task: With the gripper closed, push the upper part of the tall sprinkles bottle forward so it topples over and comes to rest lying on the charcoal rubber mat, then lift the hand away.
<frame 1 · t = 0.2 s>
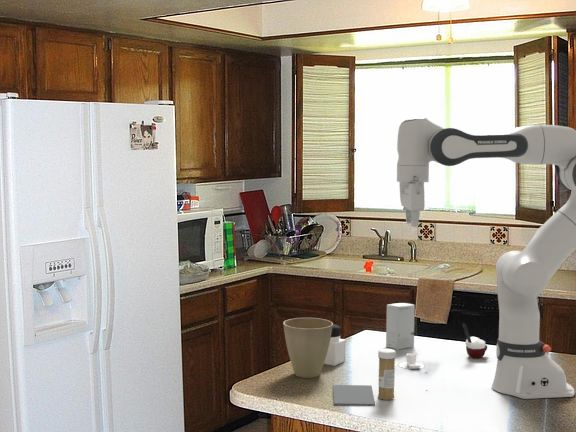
hand: (412, 224, 236), 47 cm above the counter, fingers open, 8 cm apart
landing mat: (353, 395, 233), on the counter
skincare box: (400, 347, 289), on the counter
sprinkles bottle: (386, 398, 231), on the counter
plant pot: (307, 375, 254), on the counter
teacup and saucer: (404, 369, 263), on the counter
medicine bottle: (330, 362, 269), on the counter
cocoa: (474, 358, 275), on the counter
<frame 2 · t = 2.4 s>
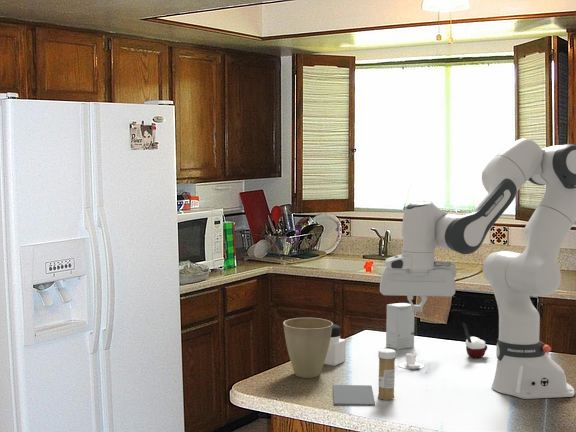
hand: (416, 311, 229), 24 cm above the counter, fingers closed
nothing on the counter moved.
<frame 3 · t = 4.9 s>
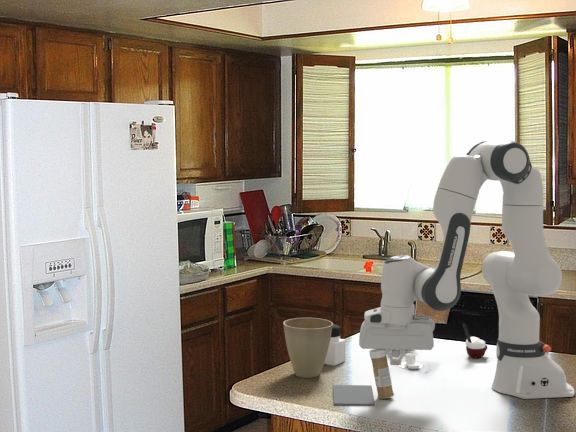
hand: (395, 364, 230), 9 cm above the counter, fingers closed
sprinkles bottle: (386, 397, 231), on the counter, touching gripper
everything else where it was.
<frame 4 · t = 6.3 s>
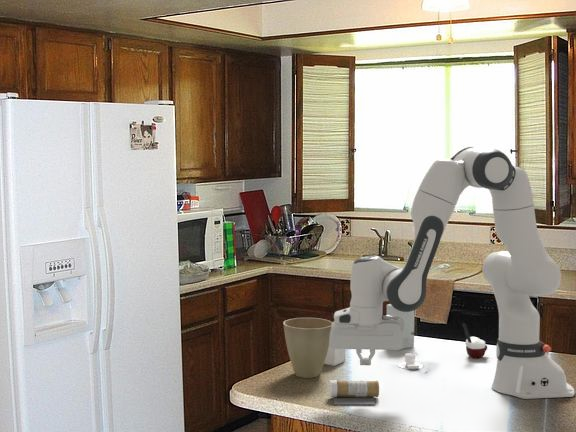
hand: (365, 364, 231), 9 cm above the counter, fingers closed
sprinkles bottle: (379, 388, 231), point 3 cm above the counter, touching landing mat
everything else where it was.
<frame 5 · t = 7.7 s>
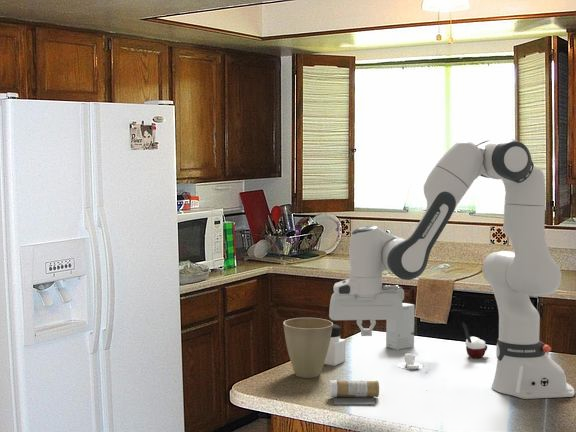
hand: (366, 335, 230), 17 cm above the counter, fingers closed
nothing on the counter moved.
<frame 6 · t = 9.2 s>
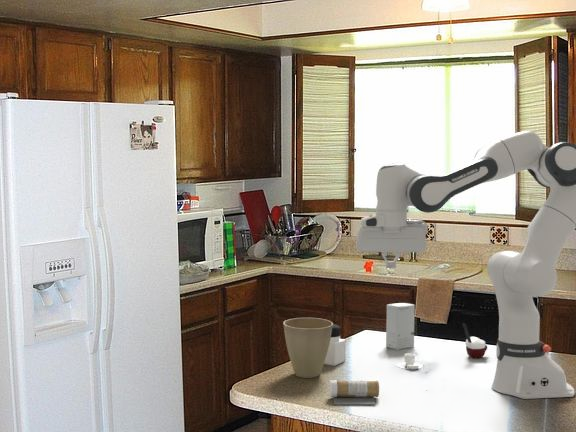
hand: (390, 267, 243), 34 cm above the counter, fingers closed
nothing on the counter moved.
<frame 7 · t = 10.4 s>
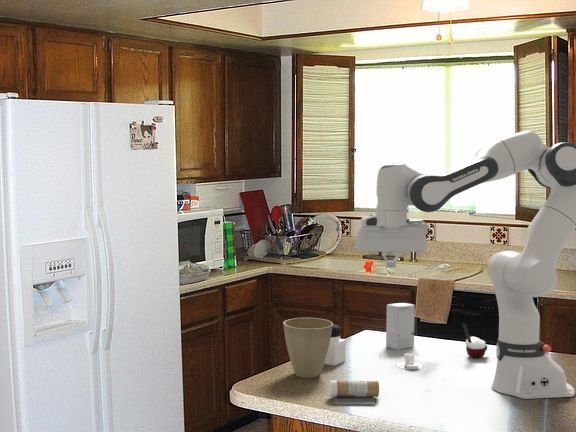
hand: (390, 267, 243), 34 cm above the counter, fingers closed
nothing on the counter moved.
at the end: sprinkles bottle tilted 89°; sprinkles bottle touching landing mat; sprinkles bottle inside the target area (7.0 cm from its centre), point 2.6 cm above the counter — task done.
